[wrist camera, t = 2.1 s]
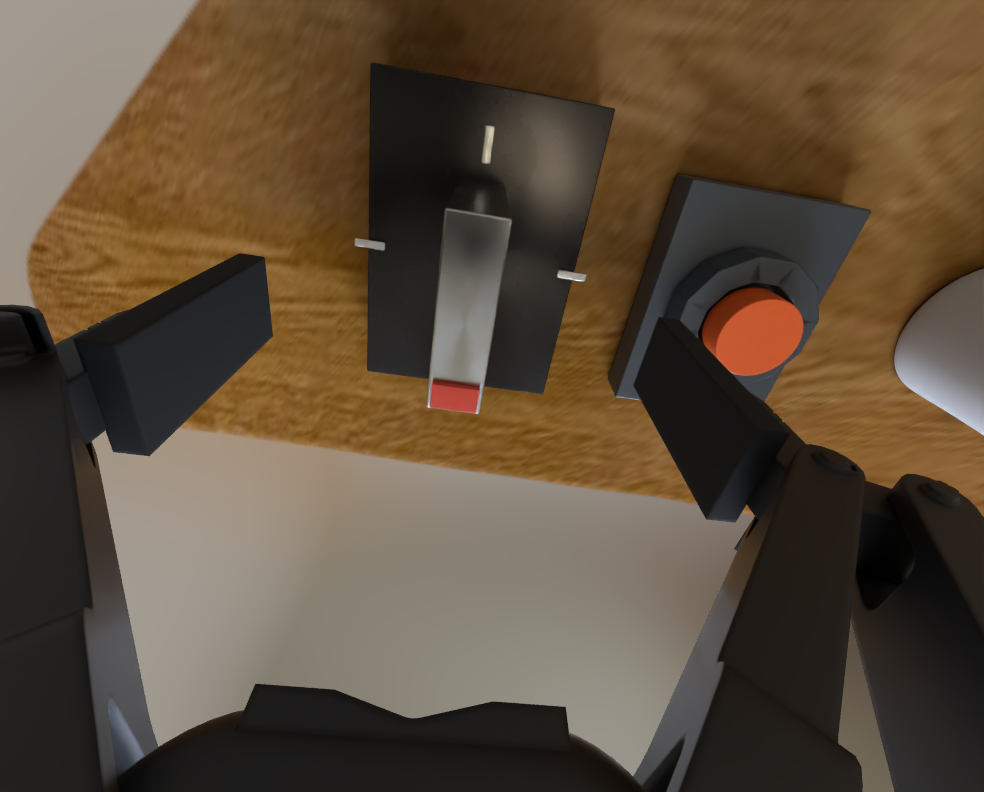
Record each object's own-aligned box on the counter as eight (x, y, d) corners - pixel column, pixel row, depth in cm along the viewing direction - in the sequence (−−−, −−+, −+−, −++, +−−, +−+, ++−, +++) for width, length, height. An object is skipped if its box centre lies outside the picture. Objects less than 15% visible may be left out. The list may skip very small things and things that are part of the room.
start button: (721, 280, 22) (738, 292, 20) (798, 293, 22) (821, 306, 20) (689, 354, 24) (702, 370, 22) (760, 364, 24) (778, 381, 23)
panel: (372, 66, 20) (353, 58, 17) (612, 112, 21) (630, 111, 18) (368, 346, 27) (355, 371, 25) (547, 371, 28) (553, 397, 26)
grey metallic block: (460, 176, 20) (443, 209, 13) (505, 184, 20) (513, 220, 13) (444, 323, 23) (425, 411, 16) (482, 329, 24) (478, 418, 17)
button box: (676, 173, 22) (709, 182, 19) (842, 203, 23) (902, 217, 20) (607, 379, 29) (622, 414, 25) (739, 397, 29) (772, 434, 26)
